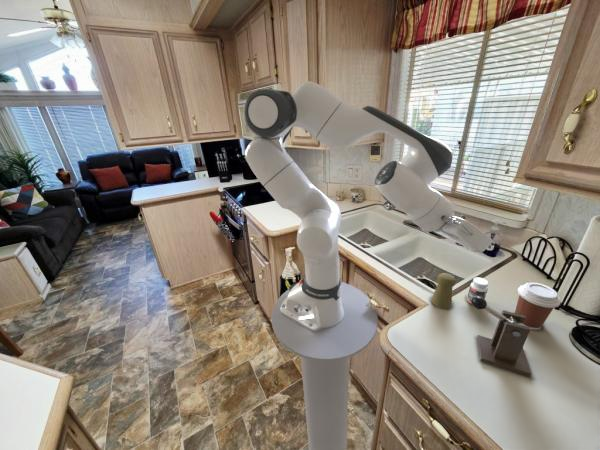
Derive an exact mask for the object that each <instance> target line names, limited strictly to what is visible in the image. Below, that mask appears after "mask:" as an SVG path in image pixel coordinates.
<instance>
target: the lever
mask: <svg viewBox="0 0 600 450" xmlns="http://www.w3.org/2000/svg"><path fill="white" fill-rule="evenodd" d="M471 303H472V304H471ZM471 303H470V304H471V305H472V307H473V308H474V309H476V310H480V311H481V310H484V311H486V312H487V313H489V314H490V315H492V316H493V317H495V318H497V319H498V320H499V319H500V320H501V321H503V322H504V325H505V323H506V322H510V323H514V324H518V325H522V326H523V324H522V323H521V322H520V321H518V320H516V319H515V318H513V317H512V316H511V317H509V318H507V317H505V316H504V315H502V313H501V312H499V311H498V310H496V309H494V308H493V307H491V306H490V305H488V302H487V301H486V298H485V299H484V298H482V297H479V296H476V297H474V298H472V300H471Z"/></svg>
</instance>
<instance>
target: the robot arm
mask: <svg viewBox="0 0 600 450" xmlns="http://www.w3.org/2000/svg"><path fill="white" fill-rule="evenodd" d="M243 117H244V120H245V123H246V126H247V127H248V128H249V130H250V131H251V132H252V133H253V134H254V137H253V139H252V140H251V141H250V142H249V143H248V145H247V147H246V148H245V151H244V158H245V161H246V162H247V164H248V166H249V168H250V169H251V171H252V173H253V174H254V175H255V176H256V179H257V180H258V181H259V183H260V184H261V185H262V186H263V188H265V190H266V191H267V192H268V193H269V195H270V196H271V197H272V198H273V199H274V201H275V202H276V203H277V204H278V206H279V207H281V208H282V209H285V210H288V211H290V212H292V213H293V214H295V215H296V216H297V217H298V218H300V220H301V221H300V224H299V226H298V228H297V233H296V245H297V248H298V250H299V251H300V253H301V254H302V257H303V261H304V262H303V263H304V274H303V275H302V276H301V278H300V280H299V281H298V282H297V281H296V282H295V283H293V284H291V285H290V286H289V287H288V290H289V294H288V296H287V297H286V298H285V300H284V301H283V303H282V305H281V314H282V315H284V316H286V317H288V318H289V319H291V320H293V321H295V322H296V323H298V324H300V325H302V326H303V327H305V328H307V329H308V330H310V331H312V332H316V331H318V330H320V329H322V328H328V327H332V326H335V325H337V324H338V323H339V322H340V321H341V320H342V319H343V317H344V309H343V306H342V303H341V297H340V295H341V282H342V279H341V277H340V272H341V269H340V268H341V267H340V260H341V259H340V254H339V234H340V227H341V224H342V212H341V209H340V206H339V205H338V203H337V202H336V201H334V200H332V199H330V198H329V197H328V196H327V195H325V194H324V193H323V192H322V191H321V190H320V189H319V188H318V187H316V186H315V184H313V183H312V182H311V180H310V179H309V178H308V177H307V176H306V174H305V172H303V171H302V169H301V168H300V167H299V165H298V164H297V163H296V162H295V161H294V159H293V158H292V157H291V156H290V154H289V153H288V152H287V150H286V149H285V147H284V143H285V142H286V140H287V138H288V137H289V134H290V133H291V132H292V130H293V128H296V127H297V128H301V129H303V130H305V131H306V132H307V133H308V134H310V135H311V136H312V137H313V138H314V139H316V140H317V141H318V142H320V143H321V144H322V145H323V146H325V147H327V148H328V149H330V150H333V151H334V150H335V151H341V150H346V149H348V148H350V147H353V146H355V145H357V144H358V143H359V142H361V141H364V139H367V138H368V137H371V136H373V135H375V134H376V135H377V134H386V135H388V136H390V137H392V138H393V139H395V140H397V141H399V142H401V143H403V144H404V145H406V146H408V147H409V149H410V150H409V152H407V153H406V155H405V156H404V157H403V158H401V160H400V161H398V160H392V161H389V162H388V163H386V164H385V165H384V166H383V167H382V168H381V169H380V170H379V171H378V173H377V174H376V176H375V179H374V183H373V184H374V186H375V188H376V189H377V191H379V193H380V194H381V197H382V198H383V199H384V200H385V201H386V202H388V203H389V204H390V205H391V206H392V207H393V208H395V209H397V210H399V211H402V212H403V213H404V214H406V216H407V218H408V219H409V220H410V221H411V222H413V223H414V224H415V225H416V226H417V227H419V228H420V229H421V230H422V231H423V232H425V233H431V232H432V233H436V234H437V235H439V236H442V237H444V238H446V239H448V240H451V241H453V242H455V243H457V244H458V245H461V246H463V247H464V248H466V249H467V250H469V251H471V252H474V253H478V254H481V253H483V252H484V251H485V250H487V248H489V247H490V246H491V245H492V243H493V240H492V238H491V237H490V236H488V235H487V234H486V233H485V232H483V231H482V230H480V229H479V228H478V227H477V226H476V225H474V224H473V223H471V222H470V221H468V220H467V219H464V218H461V217H458V216H456V213H455V209H456V207H455V205H454V204H453V202H451V201H450V200H448V198H446V196H444V195H443V194H442V193H441V192H439V191H438V190H436V189H433V188H432V187H431V186H430V185H431V184H432V183H433V182H434V181H435V180H436V179H437V178H439V177H440V176H442V175H443V174H444V173H446V172H447V171H449V170H450V169H451V168H452V163H453V156H454V154H453V151H452V150H451V148H450V147H449V146H448V145H447V144H445V142H443V141H441V140H439V139H437V138H434V137H431V136H429V135H425V134H423V133H421V132H420V131H419V130H418V129H416V128H414V127H412V126H410V125H409V124H407V123H405V122H403V121H402V120H400V119H398V118H396V117H395V116H392V115H391V114H388V113H386V112H384V111H382V110H381V109H379V108H377V107H374V106H371V105H366V106H364V107H362V108H359V107H354V106H351V105H350V104H347V103H346V102H344V101H343V100H342V99H341V98H340V97H338V96H337V95H336V94H334V93H333V92H332V91H330V90H329V89H327V88H326V87H324V86H322V85H320V84H319V83H316V82H315V81H311V80H307V81H305V82H302V83H301V84H299V86H298V87H296V89H295V90H294V91H293V93H291V92H289V91H285V90H279V89H272V88H260V89H257V90H255V91H253V92H252V93H250V95H249V96H248V97H247V98H246V100H245V103H244V105H243Z"/></svg>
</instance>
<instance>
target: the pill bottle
mask: <svg viewBox="0 0 600 450" xmlns="http://www.w3.org/2000/svg"><path fill="white" fill-rule="evenodd" d="M488 287H489V281H488V280H487V279H485V278H483V277H478V276H477V277H474V278H473V280H472V282H471V283H470V285H469V288H468V292H467V295H466V301H467V302H468V303H470V304H471V305H472V303H471V300H472V298H474V297H476V296H479V297H482V298H484V299H485V300H486V296H487V293H488V289H489V288H488Z"/></svg>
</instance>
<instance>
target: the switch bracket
mask: <svg viewBox="0 0 600 450" xmlns="http://www.w3.org/2000/svg"><path fill="white" fill-rule="evenodd" d="M501 314H502V315H504V316H505V317H507V318H509V317H511V316H512V317H513V318H515V319H516V320H518V321H520V322H521V323H522V324H523V323H524V321H525V319H526V318H525V316H524V315H520V314H516V313H515V312H512V311H508V310H507V311H506V310H501ZM530 332H531V329H530V328H529V327H526V326H522V325H518V324H514V323H510V322H506V323H505V325H504V322H503V321H501V320H500V319H498V322H497V324H496V328H495V330H494V333H493V336H492V338H489V337H486V336H484V335H483V336H482V335H480V334H477V336H476V340H477V347H478V354H479V360H480V362H482V363H485V364H487V365H488V364H489V365H491V366H495V367H498V368H501V369H504V370H507V371H510V372H513V373H516V374H520V375H522V376H526V377H531V376H532V375H533V374H532V370H531V368H530V365H529V361H528V359H527V356H526V352H525V349H524V346H525V344H526V341H527V339H528V336H529V334H530Z"/></svg>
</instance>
